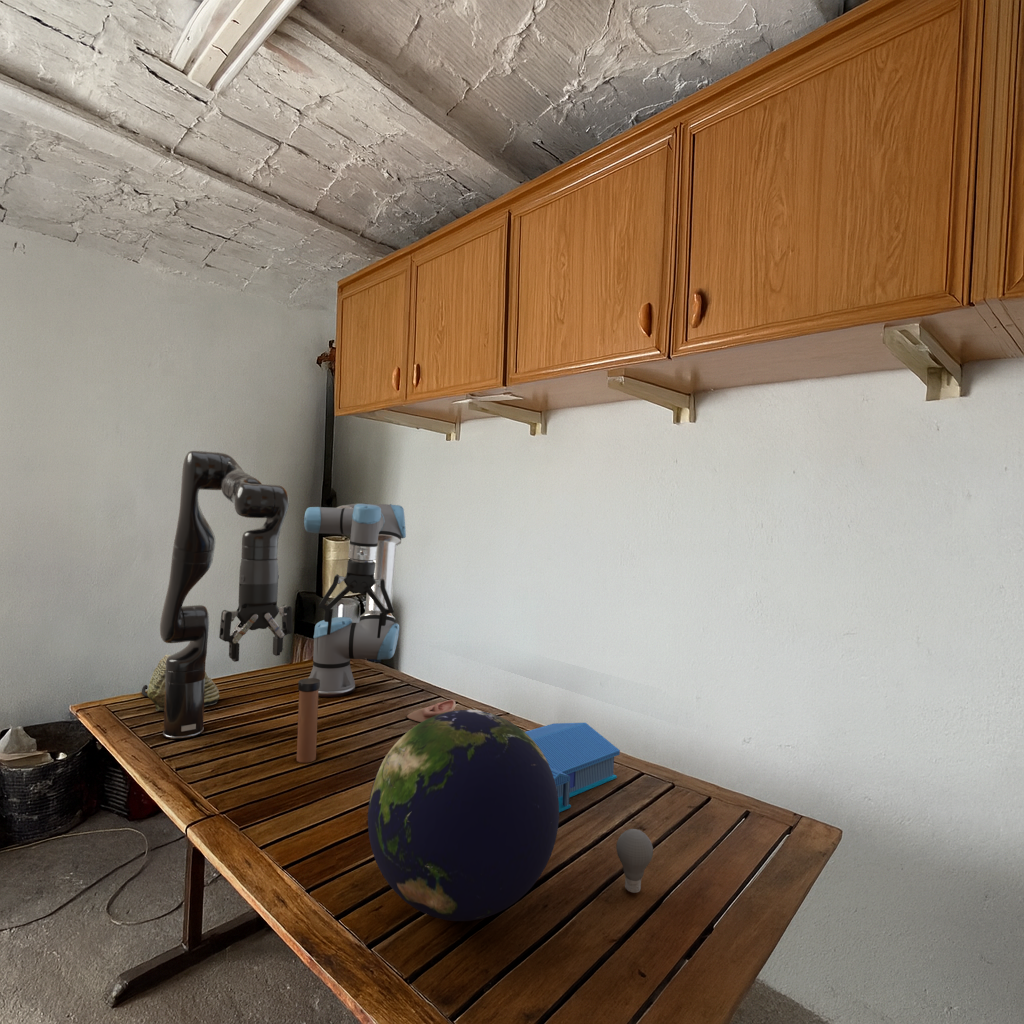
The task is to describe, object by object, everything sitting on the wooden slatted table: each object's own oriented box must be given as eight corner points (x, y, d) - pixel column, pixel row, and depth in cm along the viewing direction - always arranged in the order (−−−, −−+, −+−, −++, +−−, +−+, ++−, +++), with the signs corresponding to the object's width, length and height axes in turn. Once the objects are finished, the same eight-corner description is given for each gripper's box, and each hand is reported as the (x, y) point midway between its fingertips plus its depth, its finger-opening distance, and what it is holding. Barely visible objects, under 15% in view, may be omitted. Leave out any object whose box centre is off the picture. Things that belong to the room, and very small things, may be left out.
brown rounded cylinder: (296, 763, 150) (299, 686, 149) (296, 756, 154) (299, 680, 153) (316, 761, 151) (319, 685, 151) (315, 754, 155) (318, 679, 155)
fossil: (144, 707, 182) (145, 655, 182) (212, 696, 194) (213, 647, 194) (151, 716, 175) (153, 662, 175) (221, 703, 188) (223, 653, 188)
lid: (298, 692, 149) (298, 684, 149) (298, 685, 154) (298, 678, 154) (320, 690, 151) (320, 683, 150) (319, 684, 155) (319, 677, 155)
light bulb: (610, 879, 108) (613, 822, 108) (644, 879, 109) (647, 822, 109) (619, 902, 102) (622, 840, 102) (655, 901, 103) (658, 840, 103)
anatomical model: (403, 706, 181) (417, 694, 192) (402, 720, 181) (416, 707, 192) (447, 711, 178) (459, 699, 189) (447, 725, 178) (458, 712, 189)
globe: (322, 932, 92) (330, 728, 92) (425, 835, 120) (432, 678, 119) (512, 1001, 81) (522, 769, 81) (577, 877, 109) (585, 703, 108)
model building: (501, 837, 120) (504, 785, 120) (427, 790, 139) (429, 744, 138) (628, 782, 147) (630, 739, 147) (552, 748, 165) (553, 710, 165)
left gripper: (284, 576, 139) (281, 649, 139) (216, 579, 129) (213, 658, 130) (299, 580, 134) (296, 656, 134) (230, 584, 124) (227, 667, 124)
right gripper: (313, 557, 169) (305, 635, 170) (407, 566, 174) (399, 641, 175) (316, 553, 176) (309, 628, 178) (407, 561, 181) (398, 634, 183)
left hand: (256, 657), depth 132 cm, fingers open, 8 cm apart
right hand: (353, 635), depth 177 cm, fingers open, 13 cm apart
